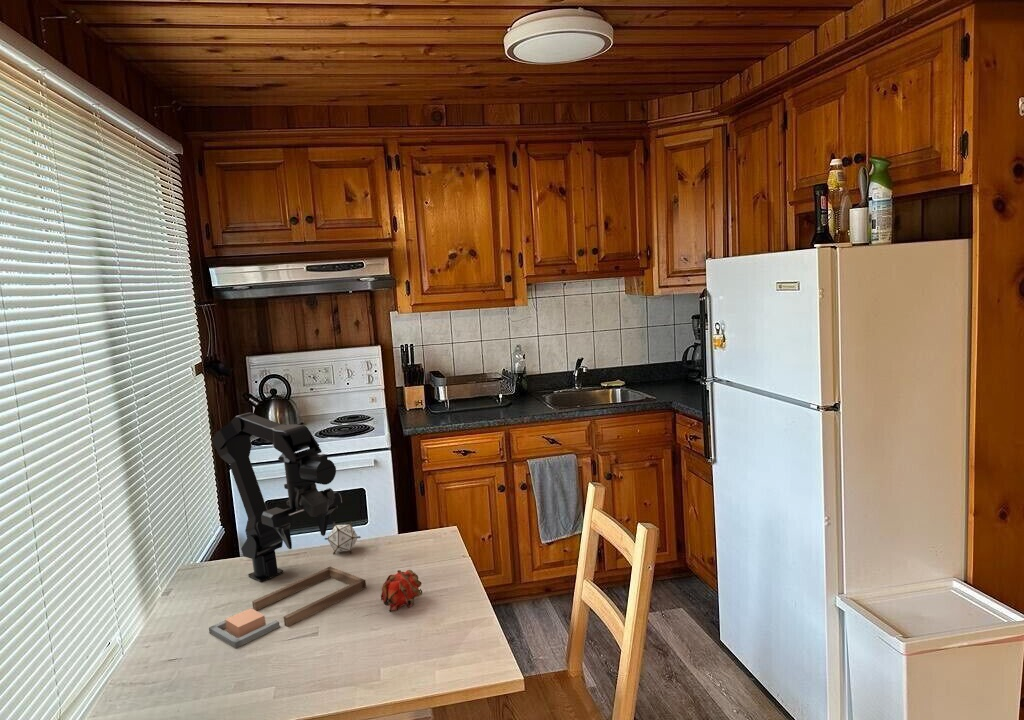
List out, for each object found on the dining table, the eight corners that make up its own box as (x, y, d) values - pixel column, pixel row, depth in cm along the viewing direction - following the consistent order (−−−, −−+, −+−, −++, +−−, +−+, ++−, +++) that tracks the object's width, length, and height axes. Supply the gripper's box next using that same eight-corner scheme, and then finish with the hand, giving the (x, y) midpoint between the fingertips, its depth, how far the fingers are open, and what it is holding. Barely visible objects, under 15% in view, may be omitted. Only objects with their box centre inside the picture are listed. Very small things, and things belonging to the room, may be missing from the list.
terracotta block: (226, 632, 156) (225, 619, 155) (252, 620, 160) (250, 608, 160) (240, 640, 152) (238, 627, 151) (266, 628, 156) (264, 615, 155)
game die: (352, 562, 196) (370, 529, 197) (341, 564, 188) (360, 530, 189) (325, 545, 198) (344, 513, 199) (313, 546, 190) (333, 513, 191)
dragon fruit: (421, 599, 167) (394, 631, 156) (393, 576, 168) (363, 607, 158) (435, 575, 163) (407, 607, 152) (405, 553, 164) (376, 583, 154)
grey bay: (209, 632, 155) (208, 627, 155) (252, 612, 163) (251, 607, 163) (235, 648, 148) (235, 642, 148) (279, 626, 155) (279, 621, 155)
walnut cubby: (253, 609, 165) (252, 601, 164) (330, 573, 181) (330, 566, 180) (287, 626, 155) (286, 618, 155) (366, 587, 171) (365, 579, 171)
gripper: (282, 496, 157) (291, 563, 159) (351, 473, 171) (359, 535, 173) (256, 488, 164) (264, 553, 166) (324, 466, 178) (332, 526, 180)
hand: (306, 541), depth 171 cm, fingers open, 9 cm apart
